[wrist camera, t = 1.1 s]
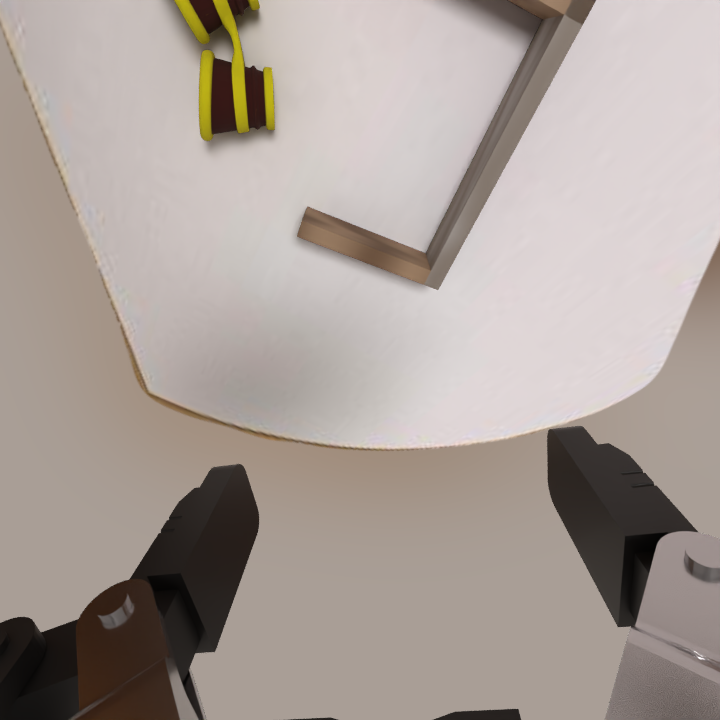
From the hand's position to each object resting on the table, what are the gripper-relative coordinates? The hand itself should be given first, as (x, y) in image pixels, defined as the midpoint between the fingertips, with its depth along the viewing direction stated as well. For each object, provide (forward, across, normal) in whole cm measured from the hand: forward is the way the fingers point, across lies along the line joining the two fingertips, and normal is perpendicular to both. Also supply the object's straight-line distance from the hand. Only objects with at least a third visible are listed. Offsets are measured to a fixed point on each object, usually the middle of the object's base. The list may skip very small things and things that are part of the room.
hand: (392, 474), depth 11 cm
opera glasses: (+23, +8, -17) cm, 30 cm away
